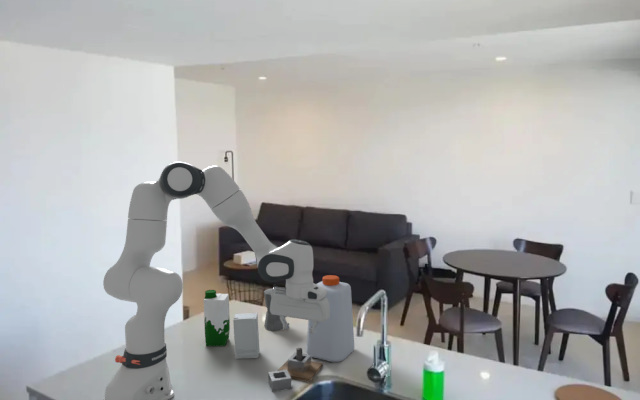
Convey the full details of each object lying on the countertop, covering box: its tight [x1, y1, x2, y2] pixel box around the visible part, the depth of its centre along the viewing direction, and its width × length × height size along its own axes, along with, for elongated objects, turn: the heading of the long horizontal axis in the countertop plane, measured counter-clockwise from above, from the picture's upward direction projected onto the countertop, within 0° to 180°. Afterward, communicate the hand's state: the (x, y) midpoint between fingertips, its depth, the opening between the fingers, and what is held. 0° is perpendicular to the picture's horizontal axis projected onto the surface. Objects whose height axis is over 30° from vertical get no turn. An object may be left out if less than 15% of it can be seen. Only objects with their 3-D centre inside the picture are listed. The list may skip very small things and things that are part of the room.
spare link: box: [267, 370, 292, 393], centre depth 152 cm, size 6×6×4 cm
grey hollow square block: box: [287, 352, 312, 373], centre depth 162 cm, size 6×6×4 cm
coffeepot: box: [263, 284, 284, 332], centre depth 198 cm, size 15×9×18 cm, turn 178°
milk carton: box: [203, 289, 231, 347], centre depth 183 cm, size 9×9×20 cm
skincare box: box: [232, 312, 260, 360], centre depth 173 cm, size 8×6×15 cm
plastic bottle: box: [305, 274, 355, 363], centre depth 174 cm, size 15×15×28 cm
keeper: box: [276, 347, 324, 383], centre depth 162 cm, size 12×12×8 cm
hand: (299, 330), depth 159 cm, fingers open, 8 cm apart
